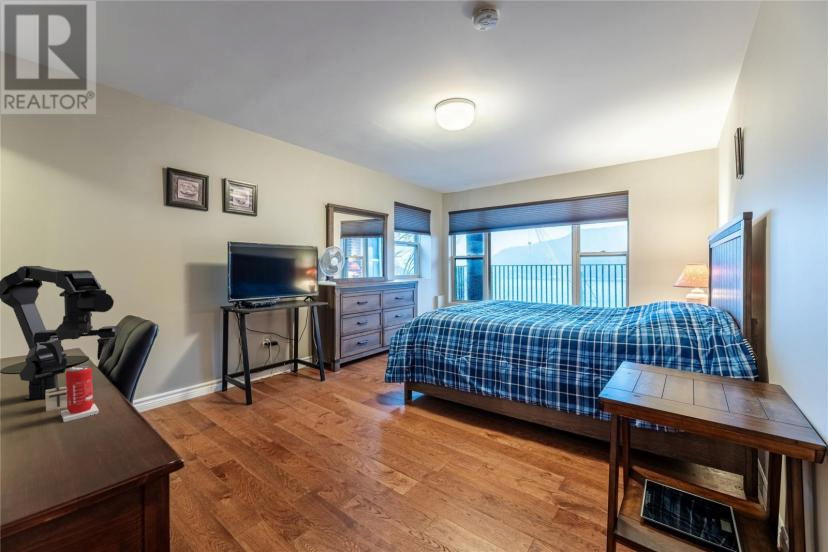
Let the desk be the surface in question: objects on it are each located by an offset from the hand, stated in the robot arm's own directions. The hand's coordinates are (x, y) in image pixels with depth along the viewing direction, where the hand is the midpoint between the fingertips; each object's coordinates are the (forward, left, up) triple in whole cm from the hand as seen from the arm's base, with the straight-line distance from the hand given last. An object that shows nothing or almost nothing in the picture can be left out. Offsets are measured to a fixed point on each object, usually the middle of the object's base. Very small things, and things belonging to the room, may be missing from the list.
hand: (79, 361), depth 107 cm
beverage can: (+11, +7, -11) cm, 18 cm away
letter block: (+4, -3, -12) cm, 13 cm away
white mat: (+12, +7, -12) cm, 18 cm away
